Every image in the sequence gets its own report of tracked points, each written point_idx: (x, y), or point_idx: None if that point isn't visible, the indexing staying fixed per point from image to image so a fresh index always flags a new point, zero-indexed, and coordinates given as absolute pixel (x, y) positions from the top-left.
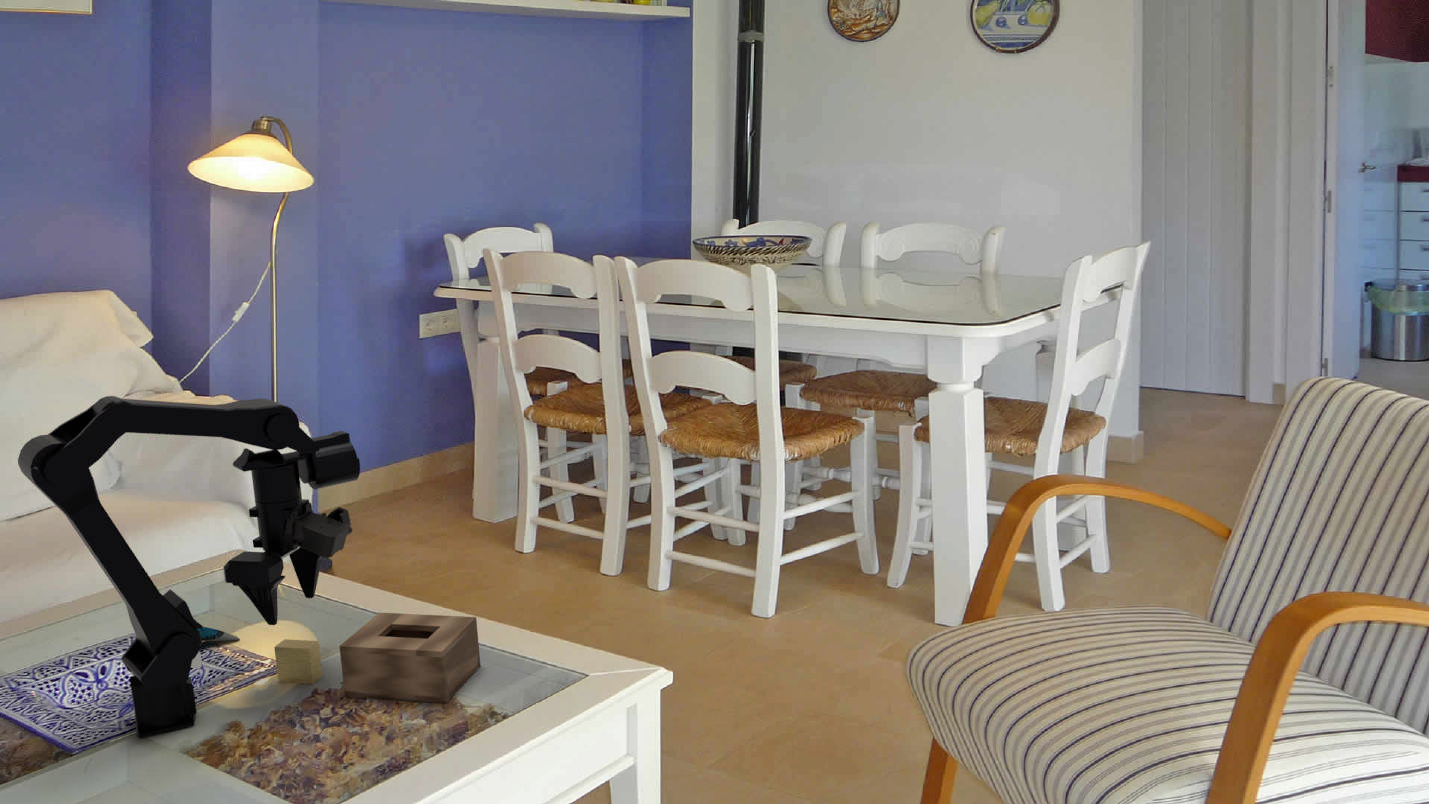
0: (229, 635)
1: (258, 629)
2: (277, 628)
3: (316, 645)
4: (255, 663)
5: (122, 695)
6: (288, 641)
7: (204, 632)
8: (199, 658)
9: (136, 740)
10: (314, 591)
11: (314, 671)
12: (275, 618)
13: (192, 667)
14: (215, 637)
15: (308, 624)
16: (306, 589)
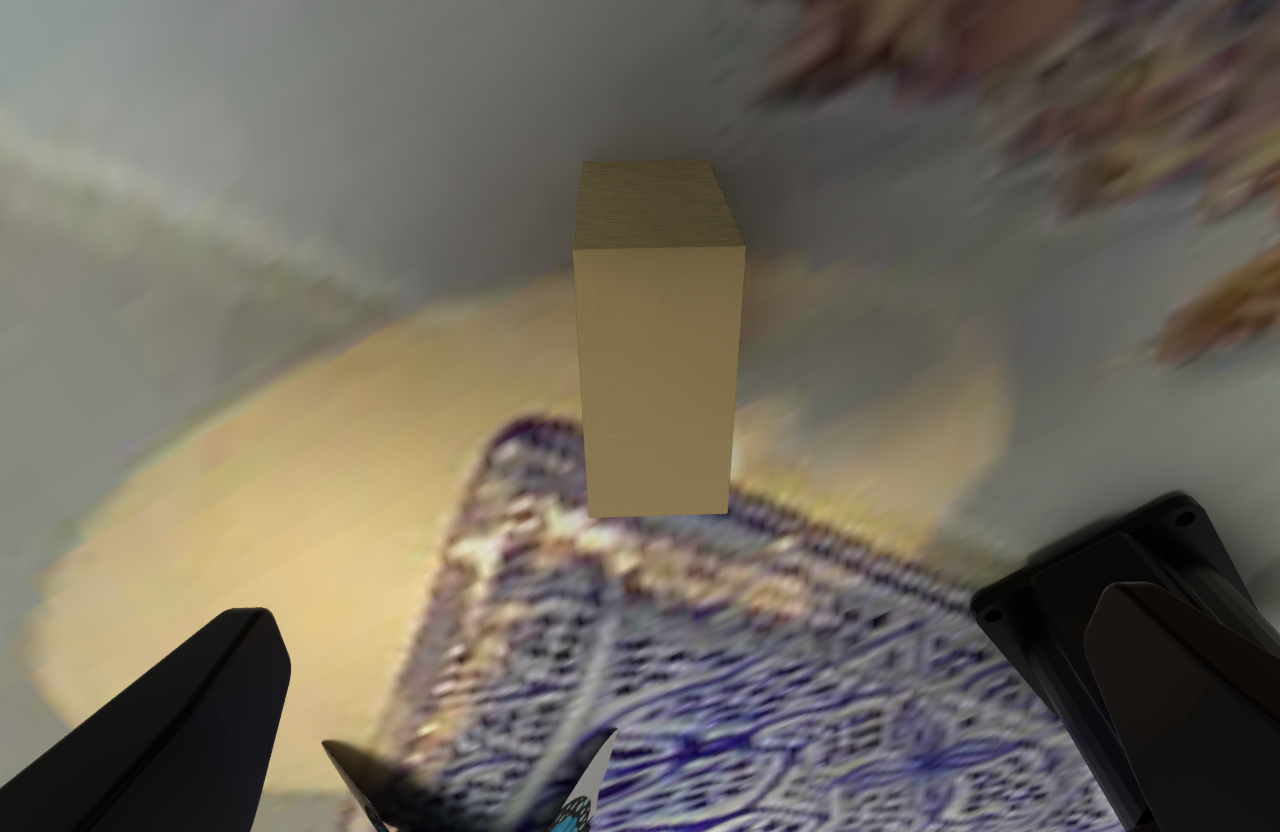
0: (349, 787)
1: None
2: None
3: (616, 239)
4: (517, 583)
5: (853, 811)
6: (621, 474)
7: None
8: (588, 770)
9: None
10: (190, 657)
11: (678, 180)
12: (1224, 634)
13: (609, 754)
14: (373, 814)
15: (21, 591)
16: (240, 755)
